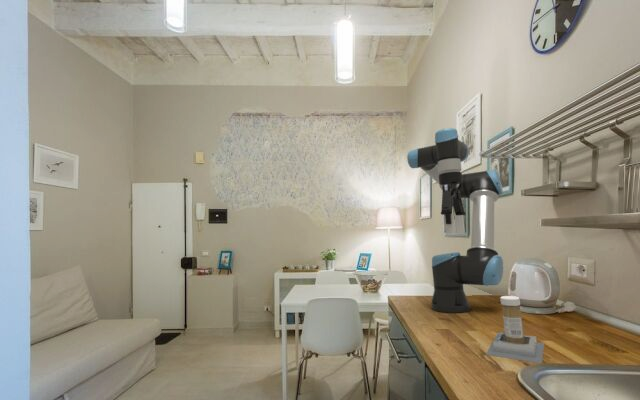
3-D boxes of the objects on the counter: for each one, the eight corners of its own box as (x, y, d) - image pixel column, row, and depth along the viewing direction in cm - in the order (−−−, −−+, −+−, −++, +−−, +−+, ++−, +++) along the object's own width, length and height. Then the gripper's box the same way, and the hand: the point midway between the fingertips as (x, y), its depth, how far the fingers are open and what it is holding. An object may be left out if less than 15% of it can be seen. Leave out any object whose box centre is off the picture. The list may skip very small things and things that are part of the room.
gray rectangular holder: (495, 340, 96) (495, 337, 96) (544, 346, 89) (544, 343, 89) (486, 358, 83) (485, 354, 83) (542, 367, 76) (541, 363, 76)
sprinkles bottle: (525, 347, 87) (519, 295, 89) (525, 352, 83) (519, 299, 85) (506, 344, 90) (500, 294, 91) (505, 350, 86) (499, 297, 87)
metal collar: (499, 341, 93) (498, 332, 93) (537, 346, 87) (535, 336, 88) (494, 351, 85) (493, 341, 86) (535, 357, 80) (533, 346, 80)
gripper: (448, 178, 126) (453, 233, 123) (427, 170, 106) (433, 235, 103) (469, 175, 121) (475, 232, 119) (451, 166, 101) (458, 234, 99)
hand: (455, 234), depth 111 cm, fingers open, 13 cm apart
